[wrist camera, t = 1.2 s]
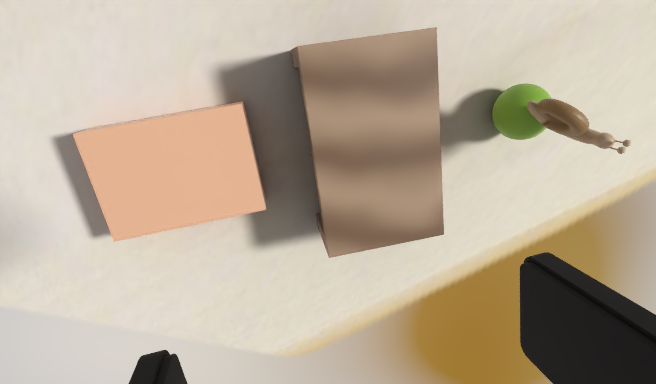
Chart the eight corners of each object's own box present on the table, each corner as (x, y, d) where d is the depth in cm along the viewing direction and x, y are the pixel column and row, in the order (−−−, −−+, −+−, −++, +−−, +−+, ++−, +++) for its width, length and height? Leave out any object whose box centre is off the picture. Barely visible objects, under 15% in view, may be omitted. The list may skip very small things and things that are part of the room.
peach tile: (90, 127, 35) (72, 133, 31) (243, 100, 36) (241, 103, 33) (126, 226, 38) (114, 241, 34) (265, 197, 39) (266, 209, 36)
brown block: (290, 50, 35) (297, 46, 28) (404, 34, 36) (436, 27, 30) (318, 227, 41) (329, 257, 34) (415, 208, 42) (443, 234, 35)
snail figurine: (513, 148, 42) (607, 177, 31) (471, 118, 40) (554, 138, 29) (544, 105, 41) (652, 119, 30) (502, 72, 39) (601, 74, 28)
